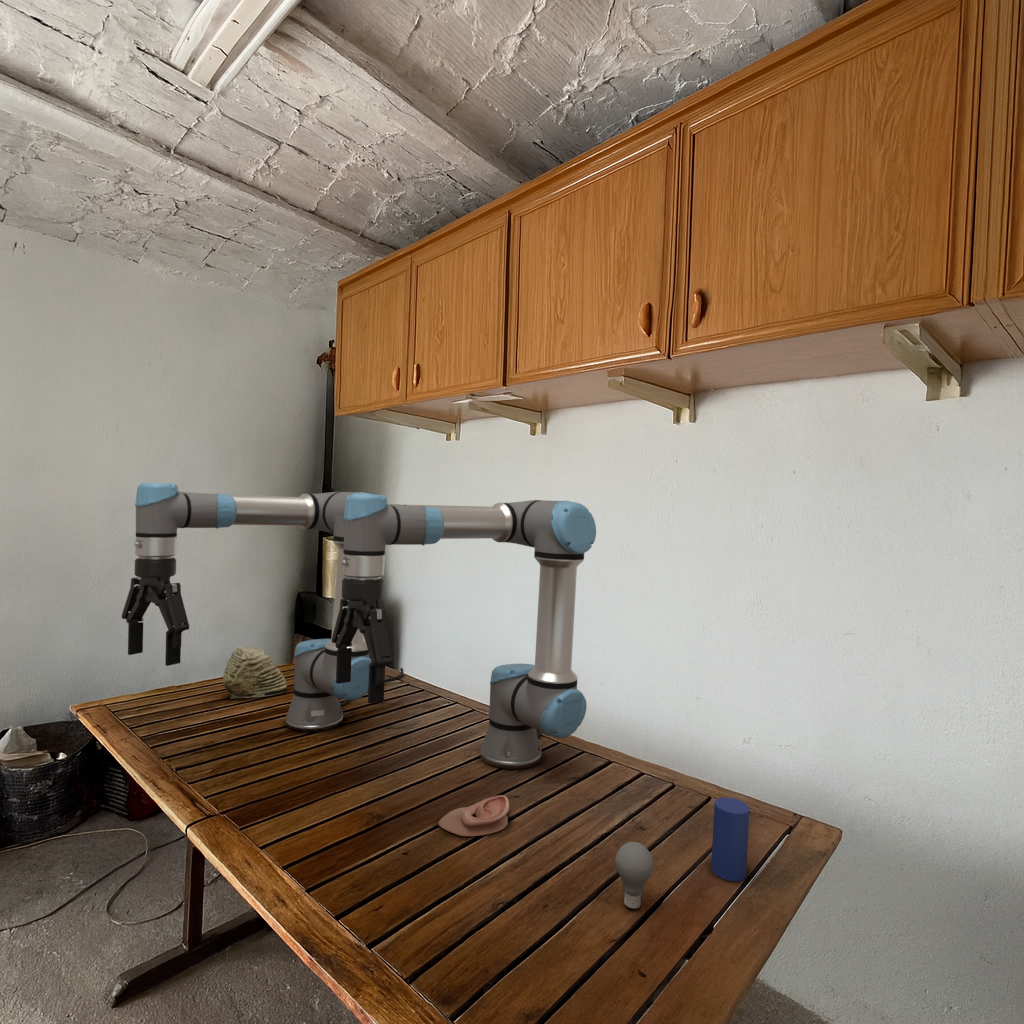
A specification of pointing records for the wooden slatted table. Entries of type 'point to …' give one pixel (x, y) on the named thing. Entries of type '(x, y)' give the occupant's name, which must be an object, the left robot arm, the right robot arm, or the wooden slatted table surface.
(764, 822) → the wooden slatted table surface
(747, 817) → the canister
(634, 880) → the light bulb
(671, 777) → the wooden slatted table surface
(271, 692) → the fossil
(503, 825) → the anatomical model
